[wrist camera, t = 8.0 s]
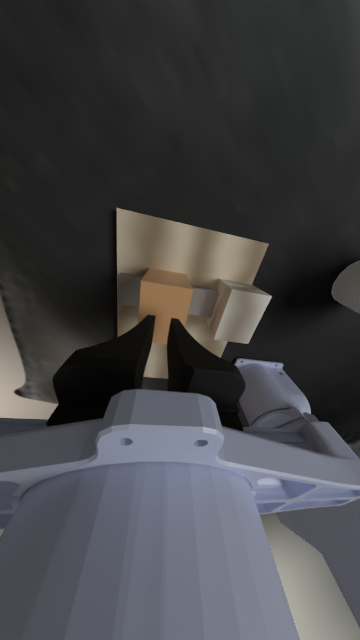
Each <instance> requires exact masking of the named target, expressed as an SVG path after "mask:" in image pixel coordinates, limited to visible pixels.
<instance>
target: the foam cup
mask: <svg viewBox="0 0 360 640" xmlns="http://www.w3.org/2000/svg"><path fill="white" fill-rule="evenodd" d="M331 294H332V296H333V298H334V300H336V301H338V302H339V303H341V304H343V305H344V306H346V307H348V308H350V309H352V310H354V311H355V312H357V313H359V314H360V260H359V261H357V262H355V263H353V264H351V265H349V266H348V267H347V268H346V269H345V270H343V271H342V272H341V273H340V274H339V275H338V277H337V279H336V280H335V282H334V283H333V286H332V292H331Z"/></svg>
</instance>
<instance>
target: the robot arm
mask: <svg viewBox="0 0 360 640" xmlns="http://www.w3.org/2000/svg"><path fill="white" fill-rule="evenodd" d="M155 318H156V316H155V315H147V316H146V317H145V318H144V319H143V320H142V321H141V322H139V323H138V324H137V325H136V326H135V327H133V328H132V329H131V330H129V331H128V332H126V333H124V334H123V335H121V336H119V337H116V338H114V339H112V340H110V341H107V342H104V343H101V344H98V345H95V346H91V347H87V348H83V349H79V350H76V351H75V352H74V353H73V354H72V355H71V356H70V357H69V358H68V359H67V360H66V361H65V362H64V364H63V365H62V366H61V367H60V368H59V370H58V371H57V372H56V373H55V375H54V377H53V386H54V390H55V393H56V396H57V399H58V402H59V404H58V406H57V408H56V409H55V410H54V412H53V413H52V415H51V417H50V418H49V419H48V420H40V419H13V418H0V529H5V530H4V531H3V534H2V535H1V537H0V640H300V639H299V636H298V633H297V630H296V626H295V623H294V620H293V617H292V614H291V611H290V608H289V605H288V602H287V599H286V595H285V593H284V589H283V586H282V583H281V580H280V577H279V574H278V571H277V568H276V565H275V561H274V558H273V555H272V552H271V549H270V546H269V543H268V540H267V537H266V534H265V530H264V528H263V524H262V522H261V518H260V514H267V513H276V515H277V516H278V518H279V520H280V522H281V523H282V524H283V525H285V526H286V527H288V528H289V529H290V530H291V531H293V532H294V533H295V534H297V535H298V536H300V537H301V538H302V539H304V540H305V541H306V542H308V543H309V544H310V545H312V546H313V547H315V548H316V549H317V550H318V551H319V552H320V553H321V554H322V555H323V557H324V559H325V561H326V563H327V565H328V567H329V569H330V571H331V572H332V575H333V576H334V578H335V580H336V582H337V584H338V586H339V588H340V590H341V592H342V594H343V596H344V598H345V600H346V602H347V604H348V606H349V607H350V610H351V611H352V614H353V616H354V617H355V619H356V621H357V623H358V625H359V627H360V459H359V458H358V457H357V456H356V455H355V453H354V452H353V451H352V450H351V449H350V447H349V446H348V445H347V444H346V443H345V442H344V440H343V439H342V438H341V437H340V436H339V435H338V433H337V432H336V431H335V430H334V429H333V428H332V426H331V425H330V424H329V423H328V422H319V421H318V419H317V418H316V417H315V416H314V415H312V414H311V410H310V406H309V403H308V401H307V399H306V397H305V396H304V394H303V393H302V392H301V391H300V390H299V388H298V387H297V386H296V385H295V384H294V383H293V381H292V380H291V379H290V378H289V377H288V376H287V374H286V373H285V372H284V371H283V370H282V367H283V364H282V363H279V362H270V361H261V360H252V359H243V358H238V359H236V361H235V363H234V365H233V364H231V363H229V362H227V361H225V360H223V359H221V358H220V357H218V356H216V355H215V354H213V353H211V352H210V351H209V350H207V349H206V348H204V347H203V346H202V345H201V344H200V343H198V342H197V341H196V340H195V339H194V338H193V337H192V336H191V335H190V333H189V332H188V331H187V330H186V329H185V327H184V326H183V324H182V323H181V322H180V320H179V319H176V318H171V321H170V327H169V332H168V338H167V363H168V389H167V391H159V390H145V389H141V387H142V381H143V376H144V371H145V367H146V364H147V360H148V357H149V354H150V350H151V346H152V340H153V333H154V325H155ZM238 401H239V402H240V404H241V406H242V409H243V411H244V413H245V416H246V418H247V420H248V423H249V425H250V427H242V424H241V422H240V419H239V417H238V414H237V413H239V408H238V406H237V403H238Z"/></svg>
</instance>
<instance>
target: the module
mask: <svg viewBox="0 0 360 640" xmlns="http://www.w3.org/2000/svg"><path fill="white" fill-rule="evenodd" d="M192 293H193V288H192V285H191V283H190V281H189V279H188V277H187V274H182V273H176V272H171V271H165V270H160V269H154V268H149V270H148V271H147V273H146V274H145V275H144V277H143V278H142V280H141V287H140V304H139V320H138V323H139V322H141V321H142V320H143V319H144V318H145V317H146V316H147V315H155V316H156V318H155V325H154V333H153V340H152V343H157V344H166V345H167V338H168V332H169V327H170V321H171V318H176V319H179V320H180V322H181V323H182V324H183V326H184V327H185V323H186V319H187V315H188V310H189V306H190V302H191V297H192Z"/></svg>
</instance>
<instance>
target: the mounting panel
mask: <svg viewBox="0 0 360 640" xmlns="http://www.w3.org/2000/svg"><path fill="white" fill-rule="evenodd" d="M268 245H269V244H267V243H263V242H259V241H254V240H250V239H246V238H242V237H237V236H233V235H229V234H225V233H220V232H216V231H212V230H208V229H204V228H199V227H195V226H191V225H187V224H182V223H178V222H174V221H170V220H165V219H161V218H157V217H153V216H149V215H144V214H140V213H136V212H132V211H127V210H123V209H119V208H117V323H118V337H119V336H121V335H123V334H124V333H126V332H128V331H129V330H131V329H132V328H133V327H135V326H136V325H137V324H138V320H139V304H140V287H141V280H142V278H143V277H144V275H145V274H146V273H147V271H148V270H149V268H154V269H160V270H165V271H171V272H176V273H182V274H187V277H188V279H189V281H190V283H191V285H192V288H193V293H192V297H191V302H190V306H189V310H188V315H187V319H186V323H185V329H186V330H187V331H188V332H189V333H190V335H191V336H192V337H193V338H194V339H195V340H196V341H197V342H198V343H200V344H201V345H202V346H203V347H204V348H206V349H207V350H209V351H210V352H211V353H213V354H215V355H216V356H218V357H220V358H221V355H222V353H223V351H224V348H225V346H226V344H227V341H230V342H238V343H246V344H248V343H249V341H250V339H251V337H252V335H253V333H254V331H255V329H256V327H257V325H258V323H259V321H260V319H261V317H262V315H263V313H264V311H265V309H266V307H267V305H268V304H269V302H270V300H271V298H272V296H271V295H269V294H267V293H265V292H264V291H262V290H260V289H258V288H257V287H255V286H253V285H252V282H253V280H254V278H255V275H256V273H257V271H258V268H259V266H260V263H261V261H262V259H263V256H264V254H265V252H266V249H267V247H268ZM143 377H154V378H166V379H168V363H167V345H166V344H157V343H152V346H151V350H150V354H149V357H148V360H147V364H146V367H145V371H144V376H143Z"/></svg>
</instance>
